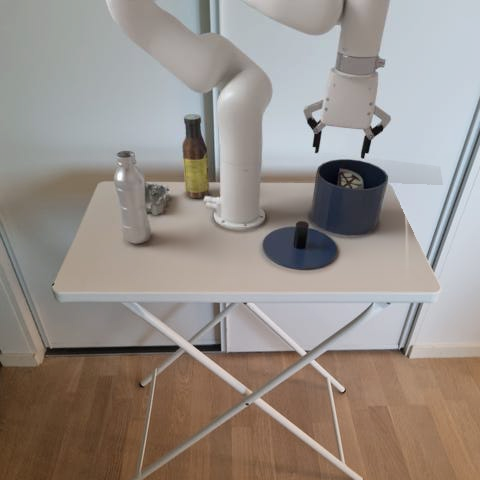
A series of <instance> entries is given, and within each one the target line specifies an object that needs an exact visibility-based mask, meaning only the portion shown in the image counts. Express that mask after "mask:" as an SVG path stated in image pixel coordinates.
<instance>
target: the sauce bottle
mask: <svg viewBox="0 0 480 480" xmlns="http://www.w3.org/2000/svg"><path fill="white" fill-rule="evenodd" d="M183 122H184V126H185V137H184V139H183V142H182V147H181V148H182V149H181V150H182V163H183V164H182V165H183V174H184V187H185V188H184V189H185V192H186V195H187V196H188V197H189V198H191V199H201V198H203V199H204V197H205V196H209V191H210V190H209V189H210V179H209V177H210V176H209V161H208V160H209V159H208V148H207V145H206V142H205V139H204V137H203V134H202V126H201V124H202V116H201V115H200V114H196V113H190V114H186V115H184V117H183Z"/></svg>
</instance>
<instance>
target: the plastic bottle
mask: <svg viewBox="0 0 480 480" xmlns="http://www.w3.org/2000/svg"><path fill="white" fill-rule="evenodd" d="M116 164H117V166H118V167H117V168H116V170H115V172H114V174H113V183H114V187H115V190H116V193H117V196H118V200H119V201H118V202H119V205H120V210H121V212H120V213H121V233H122V236H123V238H124V239H125V241H127V242H128V243H131V244H142V243H146V242H147V241H149V239H150V238H151V235H152V226H151V223H150V220H149V216H148V212H147V211H146V205H145V183H146V177H145V174H144V172H143V171H142V170H141V169H140V168H139V166H137V159H136V154H135V152H134V151H131V150H120V151H118V152H116Z"/></svg>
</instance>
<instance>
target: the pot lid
mask: <svg viewBox="0 0 480 480" xmlns="http://www.w3.org/2000/svg"><path fill="white" fill-rule="evenodd" d="M262 251H263V254H264V255H265V256H266V258H268V259H269V260H270V261H272V262H273V263H275V264H276V265H279V266H281V267H283V268H287V269H291V270H300V271H302V270H303V271H309V270H315V269H320V268H323V267H325V266H328V265H329V264H331V263H332V262H333V261H334V260H335V258H336V257H337V254H338V253H337V252H338V247H337V244H336V242H335V241H334V240H333V239H332V237H331V236H329V235H328V234H326V233H324V232H322V231H320V230H317V229H315V228H311V227H310V224H309V222H307V221H304V220H300V221H297V222H296V223H295V226H285V227H280V228H277V229H275V230H273V231H271V232H269V233H268V234H267V235H265V237H264V239H263V240H262Z"/></svg>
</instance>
